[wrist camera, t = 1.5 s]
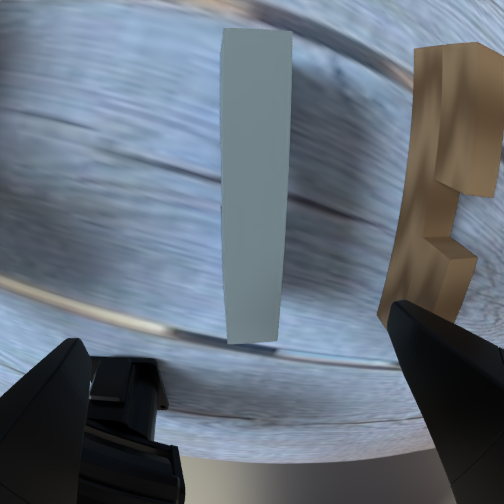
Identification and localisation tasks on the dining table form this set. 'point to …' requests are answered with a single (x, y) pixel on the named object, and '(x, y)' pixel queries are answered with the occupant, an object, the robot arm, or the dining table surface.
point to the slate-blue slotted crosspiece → (254, 177)
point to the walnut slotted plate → (445, 173)
